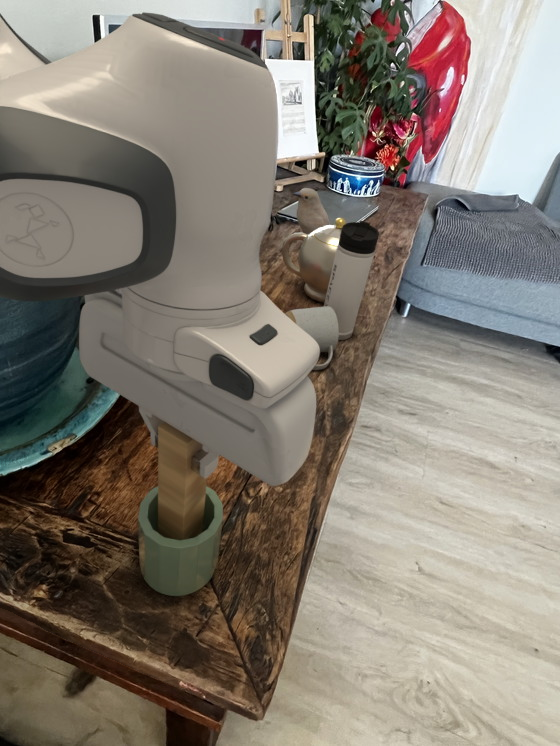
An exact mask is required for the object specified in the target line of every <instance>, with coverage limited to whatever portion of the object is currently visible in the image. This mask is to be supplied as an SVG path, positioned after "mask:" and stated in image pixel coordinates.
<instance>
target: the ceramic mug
mask: <svg viewBox="0 0 560 746" xmlns="http://www.w3.org/2000/svg"><path fill="white" fill-rule="evenodd" d="M284 314H285V315H286V316H287V317H289V318H290V319H291V320H292V321H293V322H294V323H295V324H297V325H298V326H299V327H300V328H301V329H303V330H304V331H305V332H306V333H307V334H309V335H310V336H311V337H312V338H313V339H314V340H315V341H316V342H317V343H318V345H319V348H320V353H328V357H327V360H326V361H325V362H324V363H321V364H318V363H316V365H315V366H314V368H313V369H312V370H311V371H320V370H324V369H326V368H327V367H328V366H329V364H330V363H331V361H332V359H333V354H334V353H333V352H334V351H335V350H336V348H337V345H338V343H339V340H338V337H339V326H338V320H337V316H336V314H335V312H334V310H333V309H332V308H331V307H329V306H325V307H324V306H318V307H308V308H298V309H297V308H296V309H291V310H288V311H286V312H284Z"/></svg>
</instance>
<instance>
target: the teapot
mask: <svg viewBox="0 0 560 746" xmlns="http://www.w3.org/2000/svg"><path fill="white" fill-rule="evenodd" d="M345 224H347V222H346V220H345V218H343V217H338V218H336V219H335V221H334V224H330V225H327V226H323V227H320V228H318V229H316V230H314V231H313V232H312V233H310V234H309V235H308V234H305V233H303V232H294V233H292V234H289V235H288V236H287V237H286V239H284V241H283V243H282V248H281V257H282V261H283V263H284V265H285V266H286V268H287V270H289V271H290V272H291V273H293V275H296V276H298V277H300V278H302V280H303V281H304V282H305V284H304V287H303V289H304V290H303V291H304V292H305V295H306V296H307V297H308V298H310V299H311V300H313V301H316V302H319V303H321V304H322V303H323V304H324V303H325V299H326V294H327V290H328V285H329V281H330V277H331V272H332V268H333V264H334V259H335V255H336V250H337V247H338V242H339V239H340V234H341V230H342V227H343V225H345ZM297 241H302V243H301V245H300V248H299V251H298V256H297V266H296V265H294V263H293V262H292V260H291V258H290V257H291V256H290V249H291V248H290V247H291V245H293V244H294V243H295V242H297Z"/></svg>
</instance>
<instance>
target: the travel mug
mask: <svg viewBox="0 0 560 746" xmlns="http://www.w3.org/2000/svg"><path fill="white" fill-rule="evenodd" d="M379 237H380V232H379V231H378V228H376V227H374V226H372V225H371V223H370V222H368V221H364V220H359V222H358V221H351V222H346V224H345V225H343V227H342V230H341V234H340V239H339V242H338V247H337V250H336V255H335V259H334V264H333V268H332V272H331V277H330V281H329V285H328V290H327V294H326V299H325V303H323V307H325V306H329V307H331V308H332V309H333V310H334V312H335V314H336V316H337V320H338V326H339V337H338V341H345V340H348V339H350V338H351V337H352V335H353V332H354V328H355V325H356V322H357V318H358V314H359V310H360V307H361V303H362V299H363V296H364V293H365V289H366V285H367V281H368V278H369V274H370V271H371V267H372V264H373V260H374V256H375V253H376V247H377V244H378V240H379Z"/></svg>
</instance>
